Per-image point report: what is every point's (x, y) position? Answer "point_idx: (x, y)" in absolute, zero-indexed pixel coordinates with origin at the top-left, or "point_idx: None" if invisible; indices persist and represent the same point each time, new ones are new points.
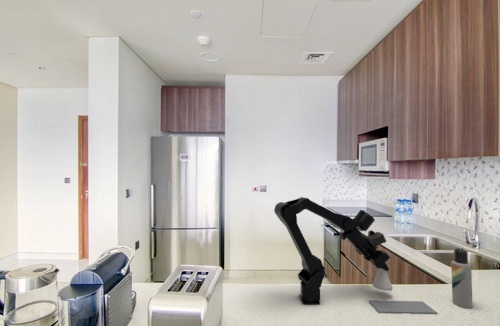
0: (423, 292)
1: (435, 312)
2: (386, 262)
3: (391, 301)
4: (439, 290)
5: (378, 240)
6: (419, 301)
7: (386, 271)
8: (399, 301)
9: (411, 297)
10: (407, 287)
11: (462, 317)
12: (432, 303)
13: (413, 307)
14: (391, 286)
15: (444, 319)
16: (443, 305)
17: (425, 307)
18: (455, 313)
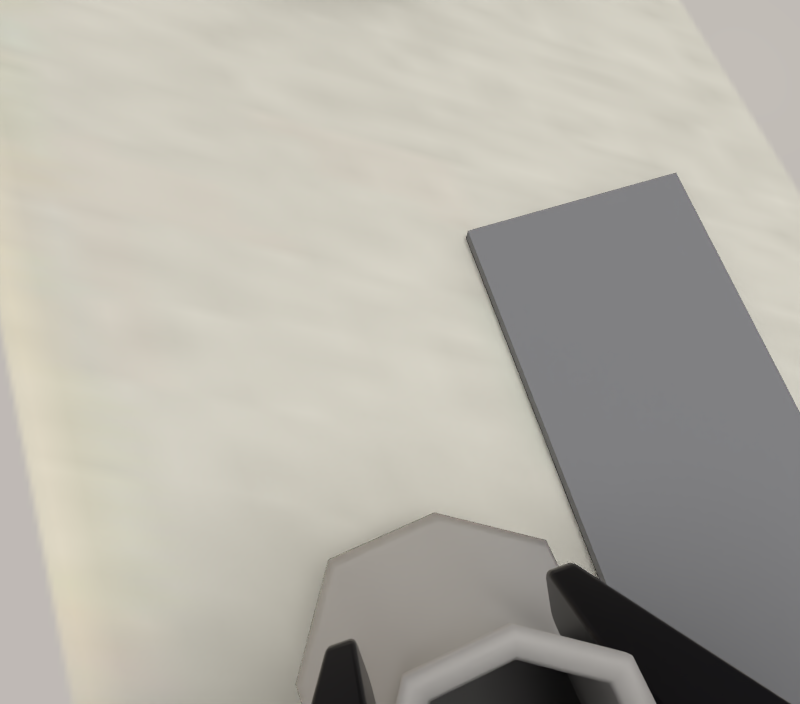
0: (188, 159)
1: (681, 187)
2: (522, 626)
3: (621, 571)
4: (92, 7)
5: None
6: (486, 260)
7: (499, 616)
8: (580, 473)
9: (368, 311)
10: (82, 286)
11: (631, 21)
12: (444, 155)
13: (668, 356)
14: (485, 533)
15: (745, 157)
16: (451, 80)
17: (608, 242)
18: (579, 44)
